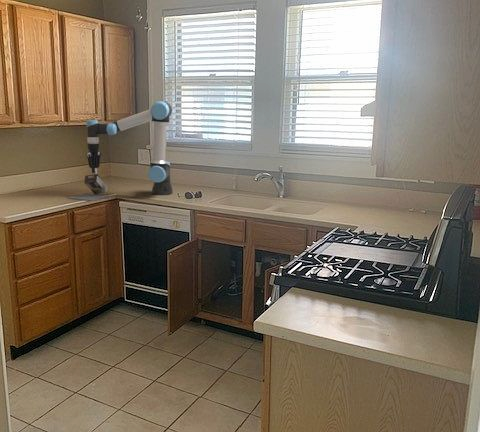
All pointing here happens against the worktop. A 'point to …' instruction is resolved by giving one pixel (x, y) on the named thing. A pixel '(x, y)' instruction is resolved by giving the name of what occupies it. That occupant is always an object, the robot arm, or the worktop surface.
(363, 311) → the worktop surface
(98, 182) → the coffee box
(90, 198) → the mat
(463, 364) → the worktop surface
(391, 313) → the worktop surface
